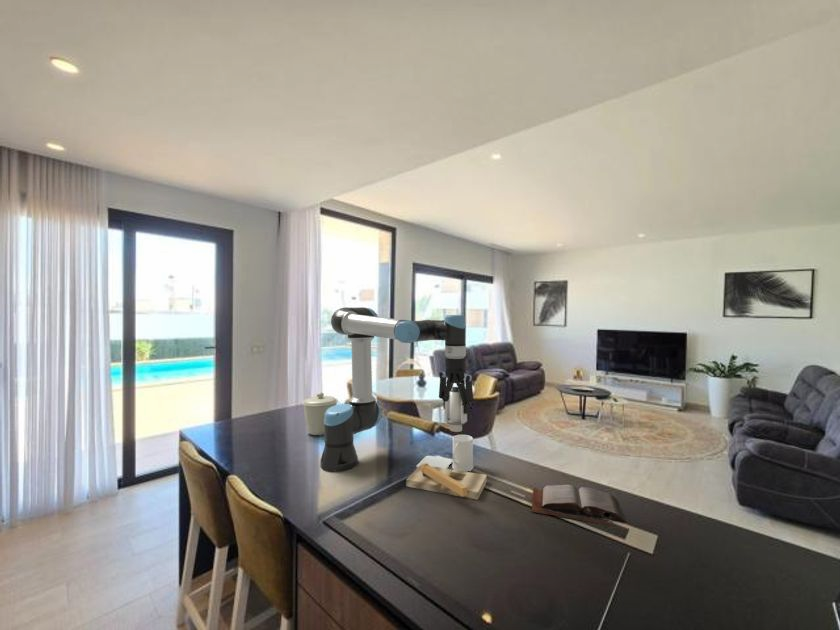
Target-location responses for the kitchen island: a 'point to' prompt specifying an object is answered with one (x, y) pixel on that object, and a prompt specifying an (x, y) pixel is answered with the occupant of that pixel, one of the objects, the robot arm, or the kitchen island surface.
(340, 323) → the robot arm
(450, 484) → the wooden bar
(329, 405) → the canister
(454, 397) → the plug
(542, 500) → the book
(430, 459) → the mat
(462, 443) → the mug
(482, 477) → the socket board
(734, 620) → the kitchen island surface
